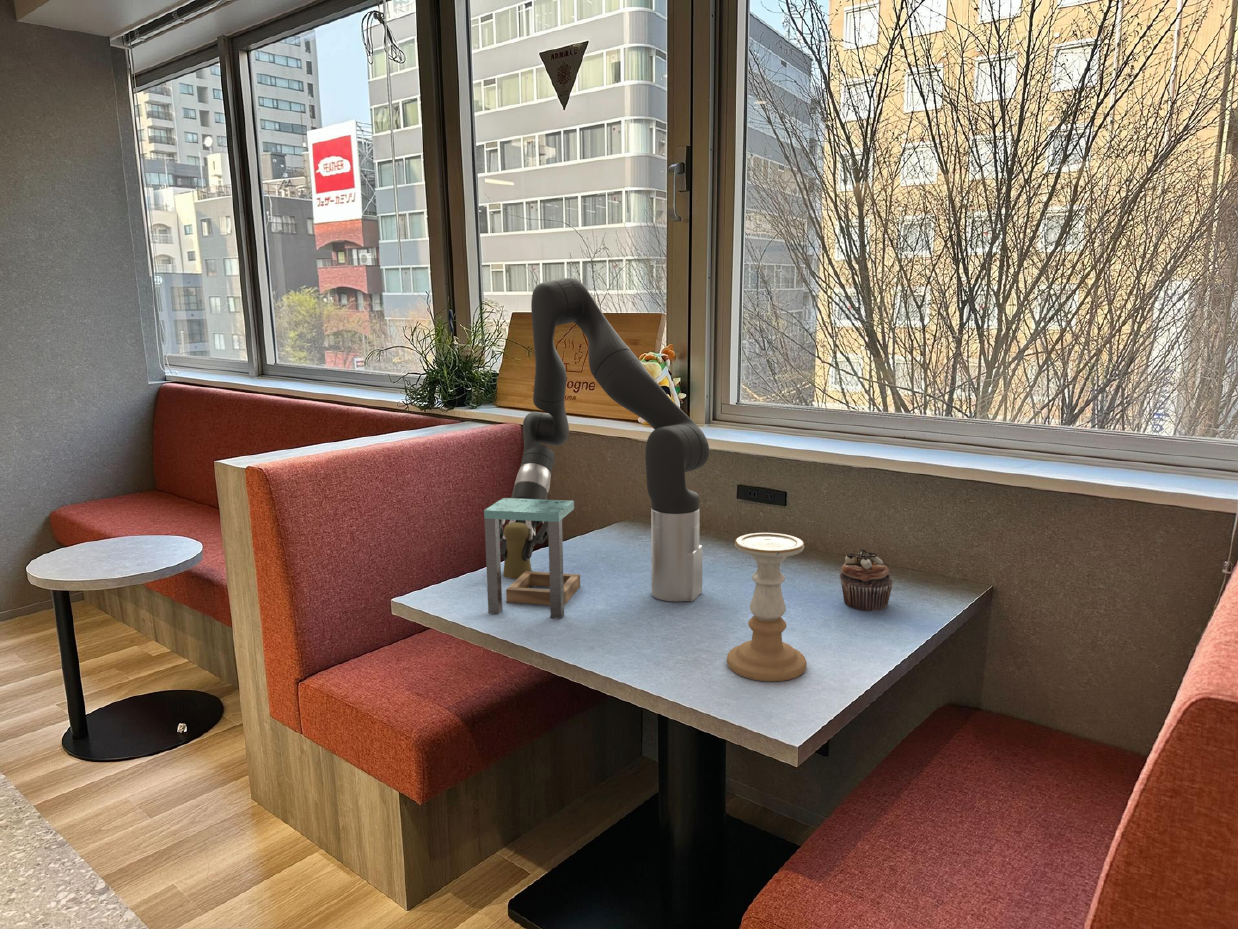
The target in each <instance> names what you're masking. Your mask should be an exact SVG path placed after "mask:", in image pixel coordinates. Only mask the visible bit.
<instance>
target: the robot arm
mask: <svg viewBox="0 0 1238 929" xmlns="http://www.w3.org/2000/svg"><path fill="white" fill-rule="evenodd" d="M530 304H531V305H530V306H531V310H530V311H531V323H532V324H531V325H532V335H533V348H534V359H535V360H534V361H535V362H534V363H535V364H534V365H535V367H534V368H535V371H534V372H535V373H534V381H533V394H532V395H533V396H532V401H533V405H534V406H535V407H536V408H537V409H538V410H540V411H541V412H539V411H530V412H529V413H528V414H527V415H525V417H524V419H523V422H522V434H523V446H524V447H523V454H522V458H521V462H520V467H519V470H518V472H517V475H516V479H515V481H514V486H513V490H512V493H511V497H510V498H517V499H541V500H548V496H549V495H548V494H549V492H550V488H551V487H550V485H551V476H552V473H553V472H552V471H553V467H554V464H555V459H556V458H555V453H554V451H553V450H552V449H551V448H550V447H548V446H554V447H558V446H559V447H560V446H562V445H564V444H565V443H566V442H567V440H568V438H569V434H570V426H569V421H568V417H567V411H566V408H565V407H566V406H565V404H566V403H565V402H566V401H565V398H566V389H567V381H568V380H567V378H568V377H567V370H566V366H565V364H564V362H563V360H562V358H561V356H560V355H559V353H558V351H557V349H556V346H555V342H554V340H555V339H554V337H555V331H556V326H561V325H566V324H570V323H571V324H572V323H574V324H575V325H577V326H578V328H579V329H581V331H582V333H583V334H584V336H585V337H586V339H587V342H588V366H589V369H590V373H591V375H592V376H593V378H594V379H595V381H596V382H597V383H598V384H599V386H600V387H601V388H602V390H603V392H605V393H606V395H607V396H608V397H609V398H610V399H611V400H613V401H614V402H615V403H616V404H618V405H619V406H621V407H622V408H625V409H626V410H628V411H630V412H631V413H632V414H634V415H636V416H638V417H639V418H641V419H642V420H644V421H645V422H646V423H647V424H648V425H649V426H650V427H651V428H652V429H653V430H652V431H651V432H650V434H649V435H648V438H647V441H646V444H645V454H644V455H645V474H646V488H647V489H646V490H647V493H648V496H649V498H650V503H651V504H650V506H651V508H650V510H651V512H650V516H651V517H650V519H651V521H650V523H651V525H650V526H651V527H650V528H651V530H650V531H651V536H650V537H651V542H650V543H651V548H650V550H651V553H650V554H651V556H650V557H651V559H650V560H651V581H650V582H651V583H650V584H651V595H652V597H654V598H656V599H657V600H661V601H666V602H684V601H685V602H687V601H688V602H694V601H695V600H696V599H697V598H698V597H699V596H700V595H701V594H702V592H703V545H702V544H700V507H701V506H700V502H701V500H700V495H699V494H698V493H697V492H696V491H694V490H691V489H688V488H687V484H686V473H688V472H692V471H695V470H698V469H700V468H702V467H703V466H704V465H705V464H706V463H707V461H708V460H709V457H710V447H709V442H708V439H707V436H706V435H705V434H704V432H703V430H702V429H701V428H700V427H699V425H697V424H696V422H695V421H694V420H692V418H691V417H690V416H688V415H687V413H685V412H684V410H682V409H681V408H680V407H679V406H678V405H677V404H676V403H675V402H674V401H673V400H672V399H671V398H670V396H669V395H668V393H666V392H665V390H664V389H663V387H661V385H660V383H658V382H657V380H655V378H654V377H653V376H652V375H651V374H650V373H649V371H648V370H647V368H646V366H644V364H643V363H642V362H641V361H640V359H639V358H638V356H637V355H636V354H635V353H634V352H633V351H632V349H631V348H630V347H629V346H628V345H627V343H626V342H624V340H623V339H622V338H621V336H620V335H619V334H618V333H617V331H616V330H615V329H614V328H613V325H612V324H610V322H609V320H608V319H607V317H606V316H605V315H604V313H603V311H602V310H601V309H600V307H599V306H598V304H597V302H596V300H595V299H594V297H593V296H592V295H591V293H590V291H589V289H587V287H586V286H585V285H584V284H583V283H582V282H581V281H580V280H578V279H577V278H575V277H565V278H564V277H563V278H559V279H553V280H549V281H543V282H540V283H538V284H537V285H536V286H534V289H533V291H532V295H531V303H530ZM546 445H548V446H546ZM506 520H507V521H508V523H507V524H510V523H515V522H519V523H524V524H526V525H527V527H528V529H529V534H528V537H527V538H526V540H527V541H525V545H524V549H523V553H522V558H523V560H524V561H528V559H530V560H531V557H532V555H533V552H534V547H535V546H536V545H537V544H539V545H543V544H544V542H545V541H546V539H547V538H548V521H529V520H508V519H499V533H500V543H501V545H500V557H501V558H502V559H503V560H504V561H505V560H506V554H507V546H506V542H507V539H506V538H505V536H504V527H503V525H505V522H506ZM541 523H542V525H541V526H540V527H539V530H538V531H537V533H536V528H537V526H539V525H540V524H541Z"/></svg>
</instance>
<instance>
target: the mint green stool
mask: <svg viewBox="0 0 1238 929" xmlns="http://www.w3.org/2000/svg"><path fill="white" fill-rule="evenodd" d="M573 510H575V500H560V499H559V500H558V499H547V500H541V499H517V498H511V497H503V498H501V499H500V500H497V501H496V502H495V503H493V504H492V505H490V506H489V507H487V508H485V509H484V510H483V513H484V514H483V516H484V517H483V519H484V538H485V561H486V562H485V564H486V586H487V587H486V588H487V589H486V590H487V591H486V592H487V610H488V611H487V612H488V614H494V615H495V614H497V615H499V614H500V613H501V612H502V611H503V593H502V591H503V590H502V568H501V567H502V566H501V565H502V564H501V562H502V561H501V554H500V550H501V542H500V533H499V519H506V520H507V521H508V520H529V521H542V522H543V521H548V536H547V538H548V566H549V567H548V568H549V569H548V570H549V575H550V587H549V590H550V605H549V606H550V607H549V608H550V611H549V612H550V619H551V618H553V619H562V618H563V617H564V616H565V606H564V579H563V573H564V543H563V539H564V538H563V520H564V518H565V517H566V516H567V515H569V514H570V513H571V512H572V511H573ZM563 615H564V616H563ZM562 616H563V617H562Z"/></svg>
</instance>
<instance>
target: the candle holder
mask: <svg viewBox="0 0 1238 929" xmlns="http://www.w3.org/2000/svg"><path fill="white" fill-rule="evenodd" d="M734 546H735V549H736V550H738V552H741V553H743V554H745V555H749V556H751V557H752V559H753V560H754V561H755V562H756V565H757V566H756V567H757V568H756V571H755V572H754V573H753V574H752V575H751V580H752V581H753V582H755V587H754V591H753V595H752V597H751V601H750V604H749V610H750V613H751V614H752V617H751V618H750V619H749V620H748V622H747V624H748V627H749V629H750V630H751V631H752V635H751V640H747V641H744V642H742V643H741V644H740V645H736V646H735V647H733V648H732V649H730V650H729V651H728V653H727V655H726V663H727V667H728V668H729V669H730V670H731V672H734V674H736V675H738V676H740V677H744V678H746V679H751V680H754V681H761V682H783V681H788V680H789V681H790V680H794V679H796V678H799V677H800V676H801V675H803V674H804V673H805V672H806V669H807V663H808V662H807V659H806V656H805V655H804V654H803V653H802V652H801V651H800V650H798V649H796V648H794V647H793V646H792V645H790V644H789V643H787V642H783V635H782V633H783V632H784V631H785V630H786V629H787V625H788V624H787V622H786V620H784V619H783V616H784V615H785V613H786V609H787V608H786V607H787V606H786V603H785V600H784V596H783V592H782V584H783V583H784V582H785V580H786V576H785V575H784V574H783V573H782V572H781V564H782V563H783V562H784V561H785V560H786V558H787V557H792V556H796V555H798V554H801V553H803V550H804V548H805V543H804V541H803V540H802V539H801V538H798V537H796V536H793V535H789V534H785V533H778V532H754V533H753V532H752V533H751V532H750V533H746V534H743V535H740V536H738V537H736V539H735V541H734Z"/></svg>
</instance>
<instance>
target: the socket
mask: <svg viewBox="0 0 1238 929" xmlns="http://www.w3.org/2000/svg"><path fill="white" fill-rule="evenodd" d="M563 579H564V607H566V605H567V603H568V602H569V601H570V600H571V598H572V597H573V596H574V595H575V594H576V592H578V590H579V588H580V587H581V574H576V573H564V572H563ZM532 586H533V587H544V586H545V588H546V587H548V588H550V575H549V572H547V571H533V570H532V571H525V572H524V573H523V574H522V575H521V576H520V577H519V578H518V579H515V581H513V582H512V583H511V584H510V585H509V586H508V587H507V588H506V589H505V596H506V600H505V601H506V603H517V604H531V605H533V604H534V605H543V604H544V606H550V589H545V588H544V589H542V588H531V587H532ZM577 589H578V590H577ZM574 593H575V594H574ZM572 595H573V596H572ZM565 604H566V605H565Z"/></svg>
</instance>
